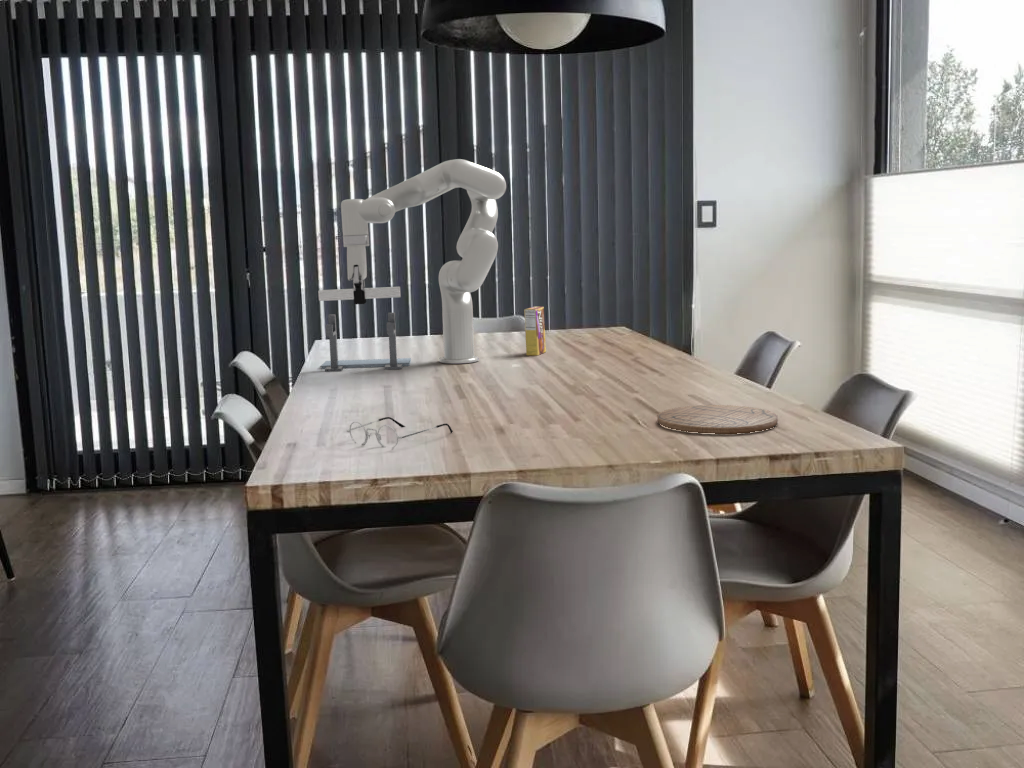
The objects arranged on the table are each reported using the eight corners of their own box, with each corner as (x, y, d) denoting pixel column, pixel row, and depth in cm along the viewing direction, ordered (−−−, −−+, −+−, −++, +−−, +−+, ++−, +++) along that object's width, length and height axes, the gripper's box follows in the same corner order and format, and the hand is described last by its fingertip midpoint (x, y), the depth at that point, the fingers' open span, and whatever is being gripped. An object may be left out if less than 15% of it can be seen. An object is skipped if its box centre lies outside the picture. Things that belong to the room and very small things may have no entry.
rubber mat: (326, 363, 326) (326, 360, 326) (411, 361, 327) (410, 358, 327) (321, 368, 315) (321, 365, 315) (409, 365, 316) (408, 362, 316)
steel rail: (320, 300, 306) (319, 290, 305) (400, 296, 306) (400, 286, 306) (319, 300, 303) (318, 290, 303) (400, 297, 304) (399, 287, 303)
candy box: (533, 352, 341) (532, 306, 338) (546, 352, 339) (545, 306, 337) (525, 355, 332) (523, 308, 330) (537, 355, 331) (536, 308, 328)
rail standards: (327, 368, 314) (324, 314, 312) (402, 366, 315) (399, 312, 313) (323, 373, 305) (319, 317, 302) (400, 371, 306) (397, 314, 303)
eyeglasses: (340, 444, 208) (339, 420, 207) (400, 428, 223) (399, 405, 222) (401, 453, 199) (399, 427, 198) (458, 435, 214) (457, 411, 213)
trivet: (694, 409, 234) (694, 401, 234) (797, 420, 219) (797, 411, 218) (635, 428, 215) (634, 419, 215) (743, 442, 200) (743, 432, 199)
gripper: (346, 241, 310) (350, 301, 313) (340, 242, 294) (344, 306, 297) (371, 240, 310) (375, 300, 313) (366, 241, 294) (370, 305, 297)
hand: (360, 303), depth 305 cm, fingers closed on steel rail, 2 cm apart
